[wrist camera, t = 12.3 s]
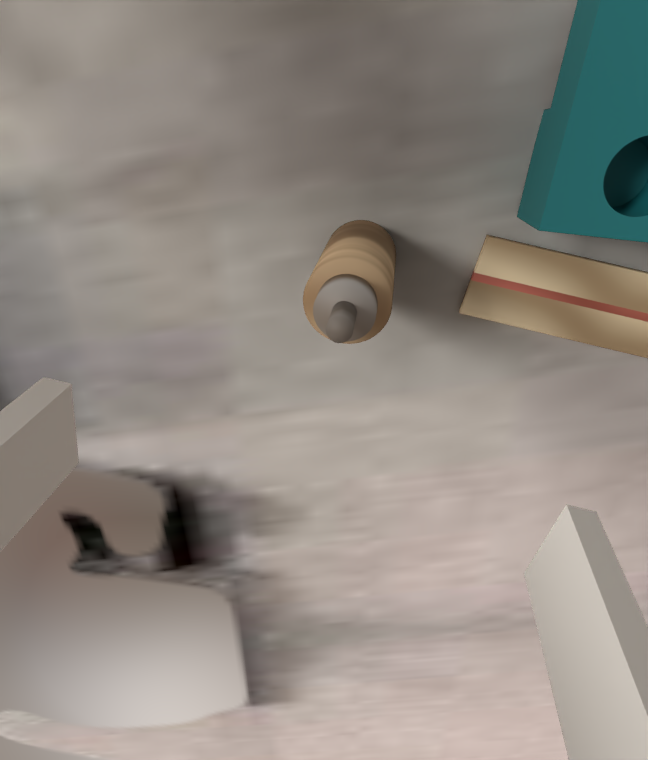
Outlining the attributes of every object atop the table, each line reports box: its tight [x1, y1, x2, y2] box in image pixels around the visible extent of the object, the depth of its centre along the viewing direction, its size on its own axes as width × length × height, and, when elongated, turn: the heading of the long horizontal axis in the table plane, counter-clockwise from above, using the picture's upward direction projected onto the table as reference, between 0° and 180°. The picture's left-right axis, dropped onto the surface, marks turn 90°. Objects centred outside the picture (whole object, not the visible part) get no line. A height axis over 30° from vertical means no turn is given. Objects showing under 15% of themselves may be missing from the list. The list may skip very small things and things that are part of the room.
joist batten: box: [459, 235, 648, 358], centre depth 30 cm, size 5×16×1 cm, turn 79°
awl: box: [303, 220, 396, 344], centre depth 27 cm, size 4×4×11 cm
